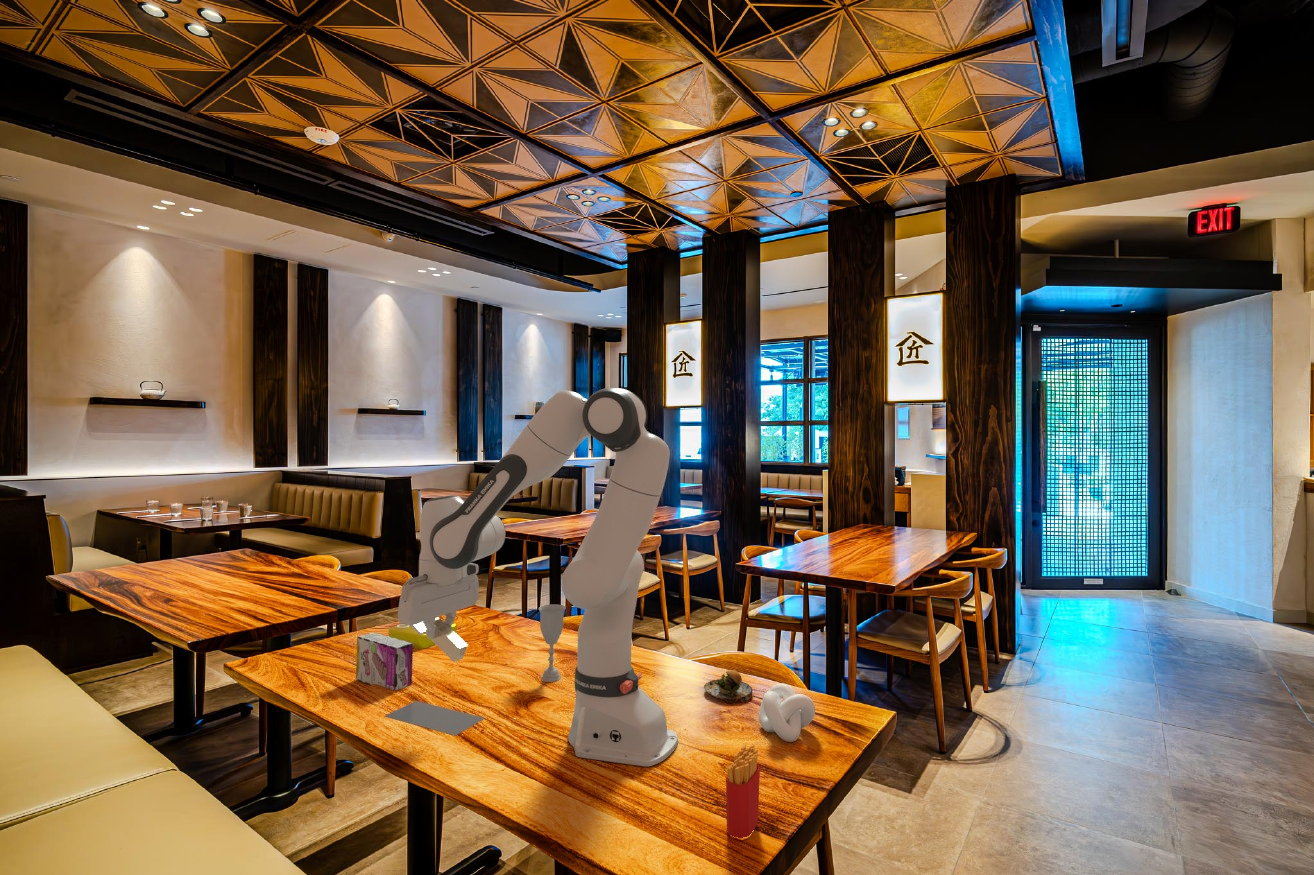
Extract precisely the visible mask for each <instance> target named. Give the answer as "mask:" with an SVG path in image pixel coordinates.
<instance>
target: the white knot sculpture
mask: <svg viewBox="0 0 1314 875" xmlns="http://www.w3.org/2000/svg"><path fill="white" fill-rule="evenodd" d="M815 715H816V705H815V703H814V701H813V700H812V699H811V697H809V696H807V695H805V694H802V693H796V691H795V689H794V688H793V687H791V686H790V685H788V684H787V683H777V684H774V685H772V687H770V689H769V690H768V691H767V692H765V693H764V695H763V697H762V701H761V703H760V708H759V710H758V721H759V725H760V728H762V729H763V730H764V731H765V732H767V733H776V735H778V737H779V738H780V739H782V740H783V741H785V742H787V743H792V742H796V741H797V739H798V738H799V736H800V735H801V730H802V729H803V728H806V727H807V726H808V725H810V723H811V722H812V721H813V720H814V718H815Z"/></svg>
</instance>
